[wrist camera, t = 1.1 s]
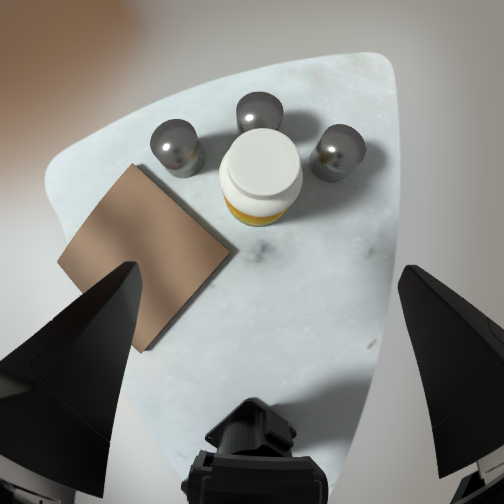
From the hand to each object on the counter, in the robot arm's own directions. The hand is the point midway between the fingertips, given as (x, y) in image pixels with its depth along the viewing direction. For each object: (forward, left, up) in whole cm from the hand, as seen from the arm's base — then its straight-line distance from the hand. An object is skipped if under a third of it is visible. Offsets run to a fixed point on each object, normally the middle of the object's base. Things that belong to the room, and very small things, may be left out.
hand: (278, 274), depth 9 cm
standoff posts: (+8, +7, -15) cm, 19 cm away
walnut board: (-7, +8, -15) cm, 19 cm away
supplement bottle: (+4, +4, -16) cm, 17 cm away
